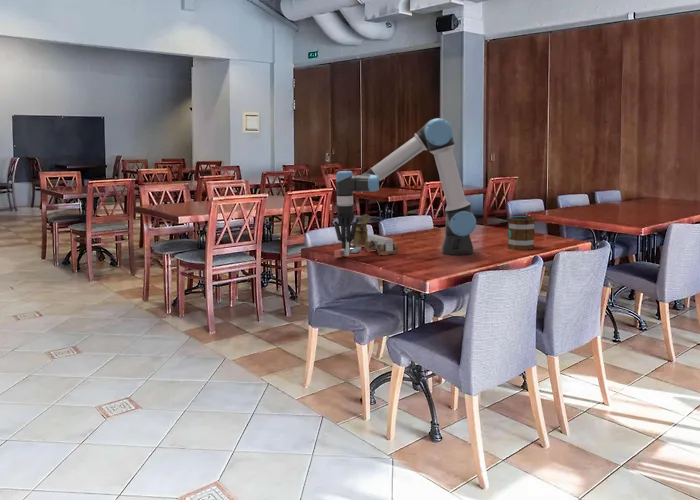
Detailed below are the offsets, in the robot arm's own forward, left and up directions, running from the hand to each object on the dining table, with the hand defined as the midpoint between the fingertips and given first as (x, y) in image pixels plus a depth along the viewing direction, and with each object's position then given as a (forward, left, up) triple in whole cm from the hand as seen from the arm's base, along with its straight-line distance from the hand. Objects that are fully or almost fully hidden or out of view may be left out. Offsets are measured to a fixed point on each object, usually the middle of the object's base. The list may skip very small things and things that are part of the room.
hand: (346, 255), depth 302 cm
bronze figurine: (+24, -22, -2) cm, 32 cm away
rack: (+5, -22, -2) cm, 22 cm away
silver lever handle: (+5, -3, -1) cm, 6 cm away
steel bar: (+6, -22, 0) cm, 22 cm away
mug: (-20, -87, -2) cm, 89 cm away
